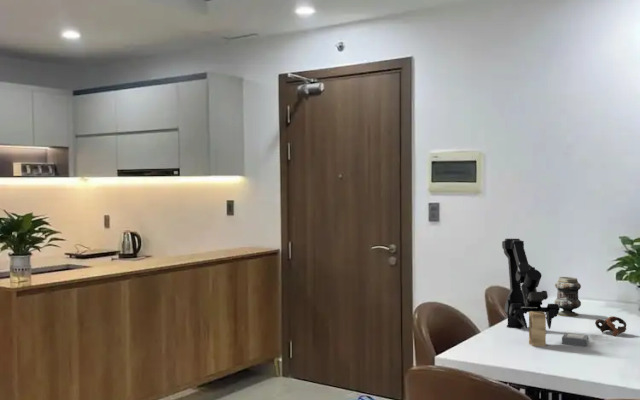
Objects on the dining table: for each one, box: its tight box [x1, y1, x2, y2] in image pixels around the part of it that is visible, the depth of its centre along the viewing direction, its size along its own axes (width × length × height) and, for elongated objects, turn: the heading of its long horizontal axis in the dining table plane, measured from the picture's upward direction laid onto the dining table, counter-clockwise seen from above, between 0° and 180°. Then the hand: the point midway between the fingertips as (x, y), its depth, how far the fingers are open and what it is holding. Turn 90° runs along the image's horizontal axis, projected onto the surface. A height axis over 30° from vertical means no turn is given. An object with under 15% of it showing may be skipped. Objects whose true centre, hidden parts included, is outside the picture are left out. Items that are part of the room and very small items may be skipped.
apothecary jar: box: [553, 276, 582, 317], centre depth 317 cm, size 12×12×18 cm
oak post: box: [528, 311, 547, 347], centre depth 256 cm, size 5×5×12 cm
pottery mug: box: [594, 315, 627, 337], centre depth 275 cm, size 12×10×8 cm
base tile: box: [561, 332, 590, 347], centre depth 259 cm, size 9×9×3 cm
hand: (538, 328), depth 255 cm, fingers open, 9 cm apart
